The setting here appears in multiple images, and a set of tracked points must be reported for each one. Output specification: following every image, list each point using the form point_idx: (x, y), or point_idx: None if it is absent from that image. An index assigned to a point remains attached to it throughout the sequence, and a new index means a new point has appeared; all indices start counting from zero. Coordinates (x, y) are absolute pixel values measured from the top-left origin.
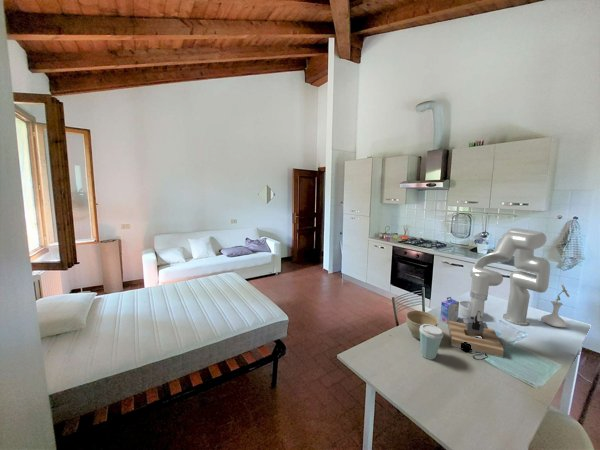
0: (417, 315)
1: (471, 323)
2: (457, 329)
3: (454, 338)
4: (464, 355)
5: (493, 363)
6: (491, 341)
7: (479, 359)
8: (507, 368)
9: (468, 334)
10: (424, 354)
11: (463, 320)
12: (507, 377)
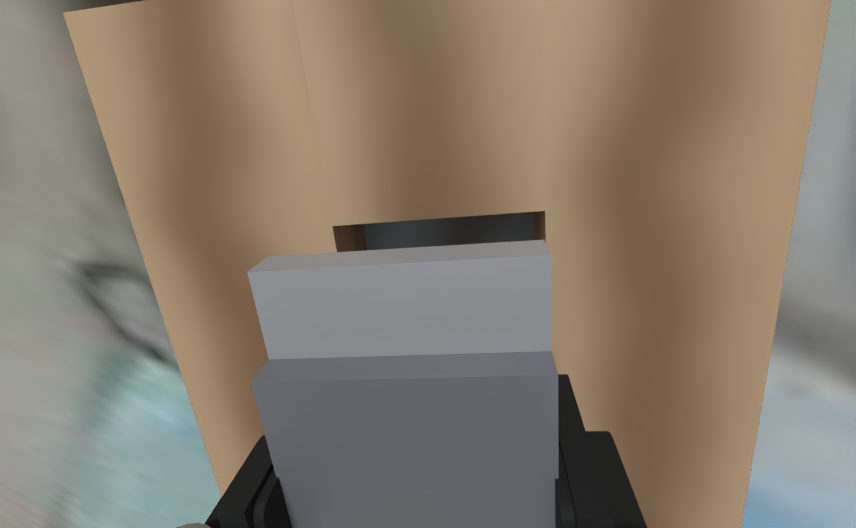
0: None
1: (279, 438)
2: (468, 102)
3: (101, 51)
4: (60, 184)
5: (132, 414)
6: None
7: (104, 317)
8: (140, 491)
9: None
10: None
11: (451, 251)
12: (18, 467)
